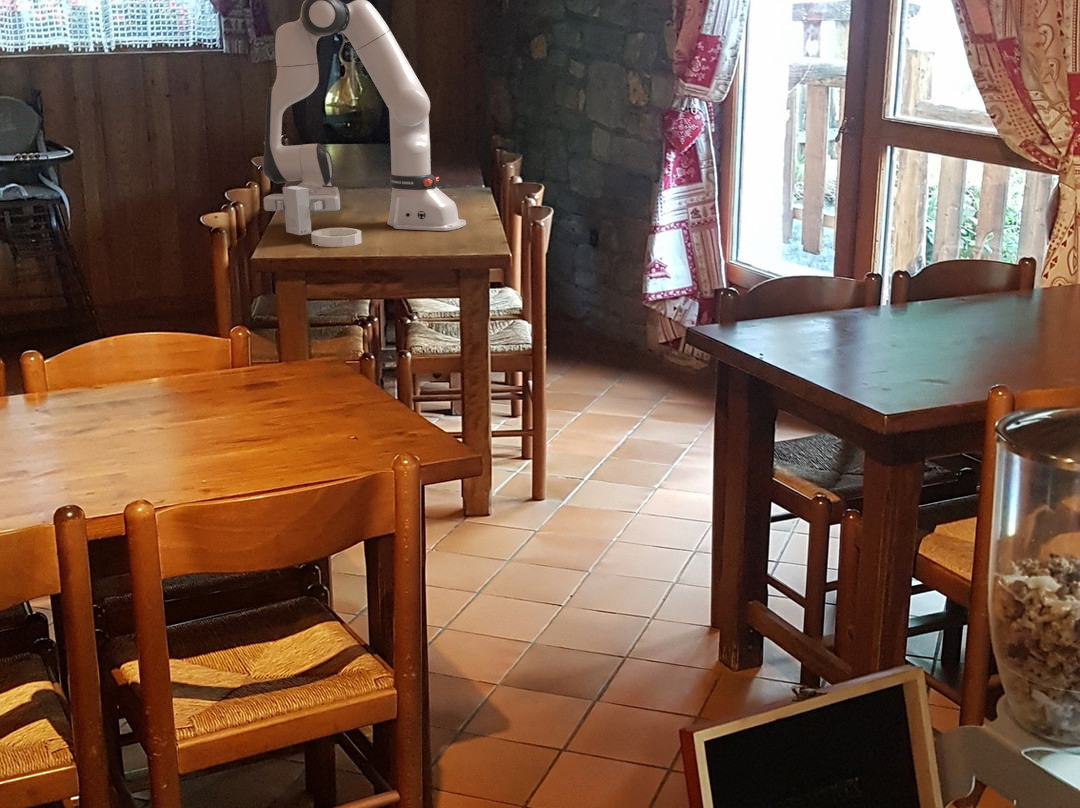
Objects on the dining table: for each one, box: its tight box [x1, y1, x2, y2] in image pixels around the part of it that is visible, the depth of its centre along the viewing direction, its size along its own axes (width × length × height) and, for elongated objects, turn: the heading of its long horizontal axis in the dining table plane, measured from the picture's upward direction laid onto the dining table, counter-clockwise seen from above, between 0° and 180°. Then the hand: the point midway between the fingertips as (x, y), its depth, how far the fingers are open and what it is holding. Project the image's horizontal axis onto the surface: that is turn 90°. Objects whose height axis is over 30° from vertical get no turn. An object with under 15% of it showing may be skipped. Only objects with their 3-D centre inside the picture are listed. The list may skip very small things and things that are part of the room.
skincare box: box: [282, 185, 312, 236], centre depth 325 cm, size 6×4×12 cm
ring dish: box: [310, 227, 363, 248], centre depth 327 cm, size 13×13×3 cm
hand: (296, 207), depth 324 cm, fingers closed on skincare box, 7 cm apart
